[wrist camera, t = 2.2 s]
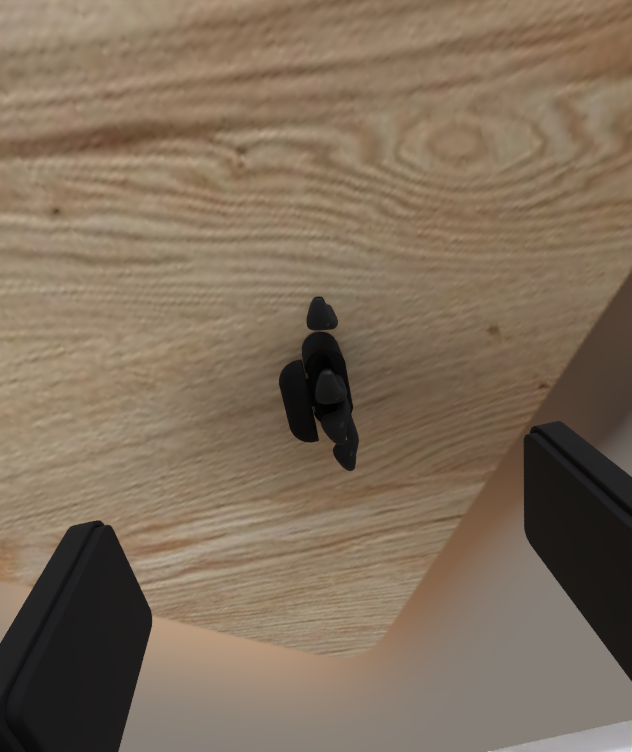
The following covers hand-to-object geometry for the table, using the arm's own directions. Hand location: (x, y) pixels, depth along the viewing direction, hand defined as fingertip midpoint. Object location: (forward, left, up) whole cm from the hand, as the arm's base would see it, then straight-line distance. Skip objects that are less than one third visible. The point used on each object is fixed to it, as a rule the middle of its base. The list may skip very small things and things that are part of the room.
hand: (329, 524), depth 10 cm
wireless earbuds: (0, 0, -10) cm, 10 cm away
